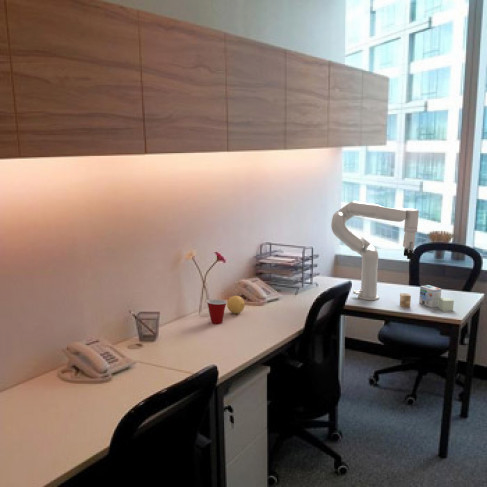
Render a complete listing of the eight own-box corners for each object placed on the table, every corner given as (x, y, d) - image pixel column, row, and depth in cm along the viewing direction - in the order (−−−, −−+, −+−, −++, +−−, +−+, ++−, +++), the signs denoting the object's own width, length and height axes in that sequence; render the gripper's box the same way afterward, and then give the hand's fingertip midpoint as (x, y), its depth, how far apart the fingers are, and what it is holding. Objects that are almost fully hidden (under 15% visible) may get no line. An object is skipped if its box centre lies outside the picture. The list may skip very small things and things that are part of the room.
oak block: (401, 307, 301) (401, 295, 300) (399, 304, 306) (400, 293, 305) (410, 307, 301) (410, 295, 300) (408, 305, 306) (409, 293, 304)
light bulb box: (418, 303, 309) (419, 285, 307) (427, 301, 312) (428, 284, 310) (432, 307, 300) (433, 289, 298) (440, 306, 302) (441, 288, 301)
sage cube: (442, 310, 294) (443, 300, 293) (438, 307, 300) (438, 297, 299) (453, 310, 294) (453, 300, 293) (448, 307, 300) (448, 297, 299)
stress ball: (230, 317, 286) (243, 307, 282) (220, 302, 288) (233, 292, 285) (238, 315, 295) (251, 306, 291) (229, 301, 297) (241, 291, 294)
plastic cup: (231, 322, 275) (231, 300, 273) (217, 327, 267) (217, 304, 265) (216, 318, 282) (216, 296, 280) (202, 322, 274) (202, 301, 272)
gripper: (401, 227, 318) (398, 254, 321) (407, 231, 302) (404, 260, 305) (413, 227, 318) (411, 255, 321) (420, 232, 301) (417, 260, 304)
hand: (408, 257), depth 313 cm, fingers open, 9 cm apart
